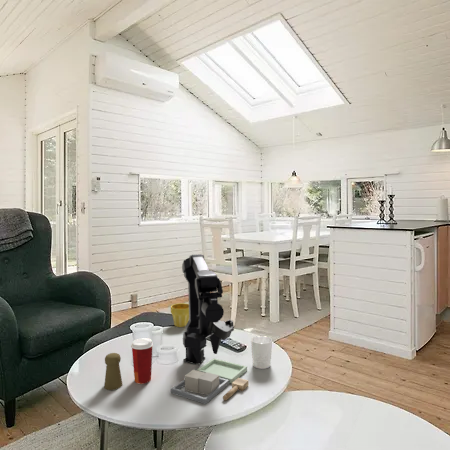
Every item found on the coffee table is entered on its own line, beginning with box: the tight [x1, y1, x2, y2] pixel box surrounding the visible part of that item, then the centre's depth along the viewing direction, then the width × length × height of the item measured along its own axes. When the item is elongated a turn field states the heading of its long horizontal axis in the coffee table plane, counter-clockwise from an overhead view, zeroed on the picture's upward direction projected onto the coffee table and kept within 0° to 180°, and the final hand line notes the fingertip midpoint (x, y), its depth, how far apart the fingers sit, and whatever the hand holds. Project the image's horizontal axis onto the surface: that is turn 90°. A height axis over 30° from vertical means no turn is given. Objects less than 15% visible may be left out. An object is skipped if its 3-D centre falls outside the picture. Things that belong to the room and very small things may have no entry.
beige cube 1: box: [198, 372, 220, 396], centre depth 127 cm, size 5×5×5 cm
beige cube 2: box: [184, 369, 205, 394], centre depth 129 cm, size 5×5×5 cm
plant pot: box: [170, 302, 189, 328], centre depth 193 cm, size 10×10×10 cm
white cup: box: [250, 335, 273, 370], centre depth 147 cm, size 8×8×10 cm
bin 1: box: [170, 377, 230, 405], centre depth 129 cm, size 14×15×2 cm
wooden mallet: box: [222, 377, 249, 401], centre depth 126 cm, size 13×4×2 cm, turn 149°
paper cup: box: [130, 337, 154, 385], centre depth 135 cm, size 8×8×14 cm
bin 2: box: [196, 357, 248, 384], centre depth 141 cm, size 15×12×2 cm
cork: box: [103, 352, 123, 391], centre depth 131 cm, size 6×6×11 cm
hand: (207, 358), depth 127 cm, fingers open, 9 cm apart
